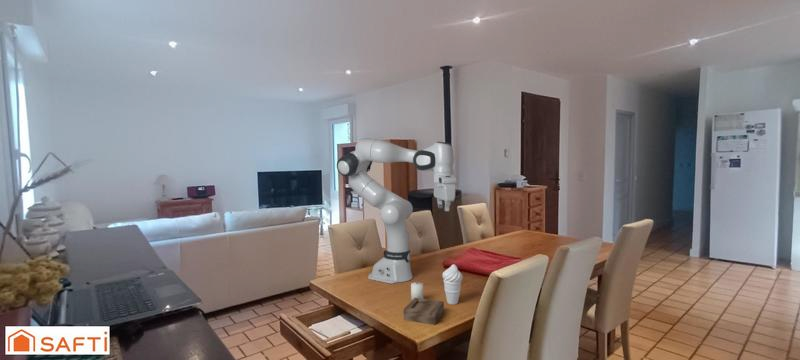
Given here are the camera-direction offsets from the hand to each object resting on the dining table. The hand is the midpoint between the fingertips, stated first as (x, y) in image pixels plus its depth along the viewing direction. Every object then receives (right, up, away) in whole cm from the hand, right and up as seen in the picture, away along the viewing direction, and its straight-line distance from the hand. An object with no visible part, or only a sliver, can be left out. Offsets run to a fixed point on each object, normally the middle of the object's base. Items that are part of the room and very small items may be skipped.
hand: (443, 209), depth 163 cm
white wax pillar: (-12, -38, -10) cm, 41 cm away
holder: (-10, -38, -24) cm, 46 cm away
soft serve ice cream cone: (+2, -38, -12) cm, 39 cm away
